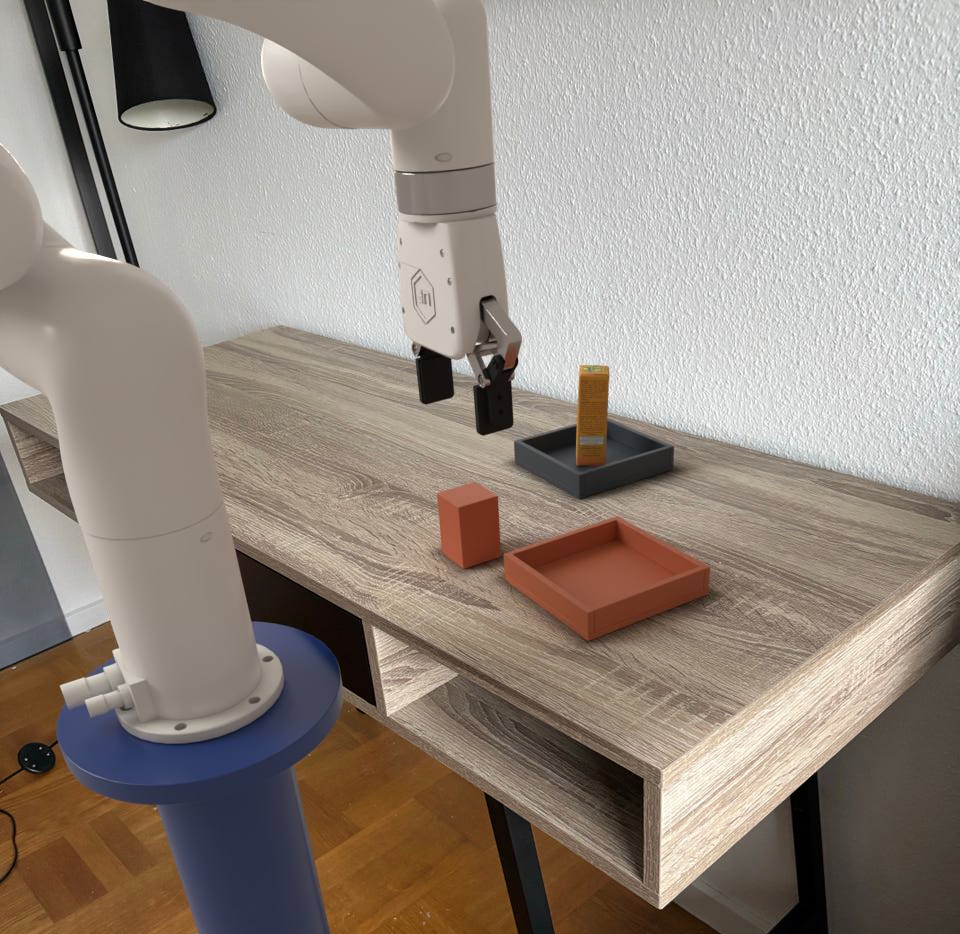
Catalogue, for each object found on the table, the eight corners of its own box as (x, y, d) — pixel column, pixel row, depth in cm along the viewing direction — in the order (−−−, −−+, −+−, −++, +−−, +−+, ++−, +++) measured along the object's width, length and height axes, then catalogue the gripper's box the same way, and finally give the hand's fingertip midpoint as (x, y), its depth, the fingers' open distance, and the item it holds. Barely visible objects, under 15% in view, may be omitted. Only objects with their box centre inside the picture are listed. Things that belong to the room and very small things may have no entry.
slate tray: (579, 499, 95) (579, 475, 94) (514, 463, 104) (513, 440, 103) (673, 469, 100) (674, 446, 99) (603, 437, 109) (603, 416, 108)
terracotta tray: (588, 641, 73) (588, 612, 71) (504, 580, 82) (503, 553, 80) (708, 594, 78) (710, 566, 76) (617, 541, 87) (617, 515, 85)
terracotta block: (463, 569, 84) (458, 507, 81) (441, 552, 87) (436, 492, 84) (501, 556, 86) (498, 495, 82) (479, 541, 89) (475, 481, 85)
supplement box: (608, 466, 100) (610, 373, 95) (576, 467, 101) (575, 374, 95) (607, 455, 103) (608, 363, 98) (575, 455, 103) (575, 364, 98)
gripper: (353, 190, 75) (380, 399, 84) (460, 212, 62) (479, 456, 72) (435, 177, 78) (453, 381, 87) (554, 196, 65) (560, 432, 75)
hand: (465, 414), depth 80 cm, fingers open, 9 cm apart
